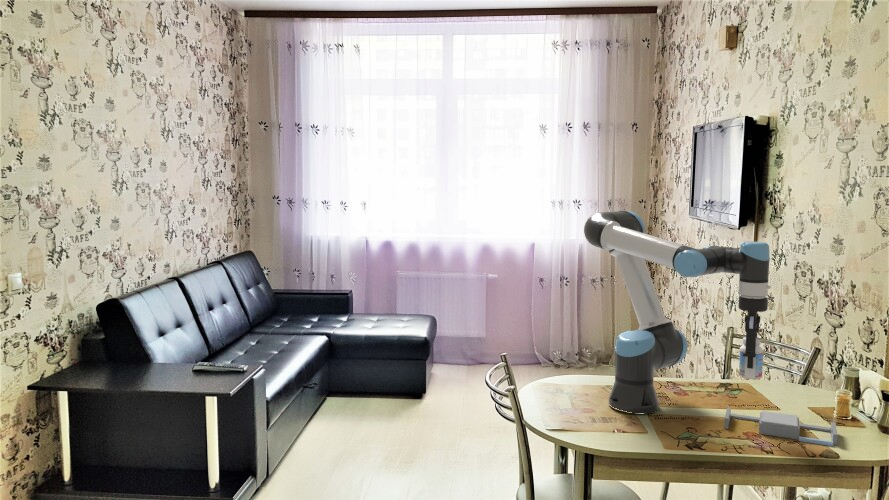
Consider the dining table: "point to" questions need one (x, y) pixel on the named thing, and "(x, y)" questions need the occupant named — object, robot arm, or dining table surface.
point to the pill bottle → (758, 359)
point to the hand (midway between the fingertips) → (750, 375)
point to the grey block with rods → (784, 426)
